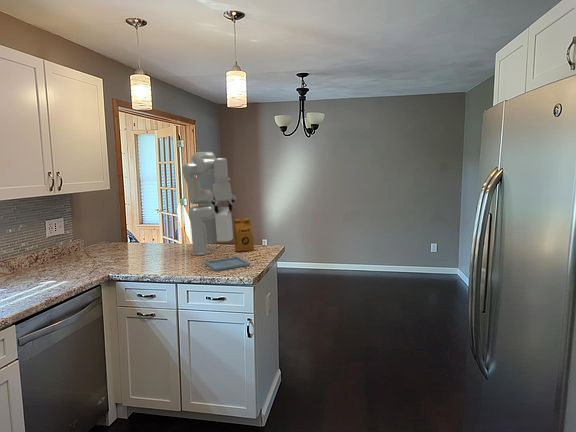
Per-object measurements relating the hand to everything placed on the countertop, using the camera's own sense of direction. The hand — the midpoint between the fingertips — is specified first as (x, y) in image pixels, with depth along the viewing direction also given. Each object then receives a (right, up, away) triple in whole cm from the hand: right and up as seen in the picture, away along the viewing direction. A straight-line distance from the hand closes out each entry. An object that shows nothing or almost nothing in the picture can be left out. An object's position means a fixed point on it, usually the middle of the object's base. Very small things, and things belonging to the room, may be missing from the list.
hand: (223, 211), depth 220 cm
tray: (+1, -31, +4) cm, 31 cm away
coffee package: (+7, -26, +42) cm, 50 cm away
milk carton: (+1, -16, +2) cm, 16 cm away
